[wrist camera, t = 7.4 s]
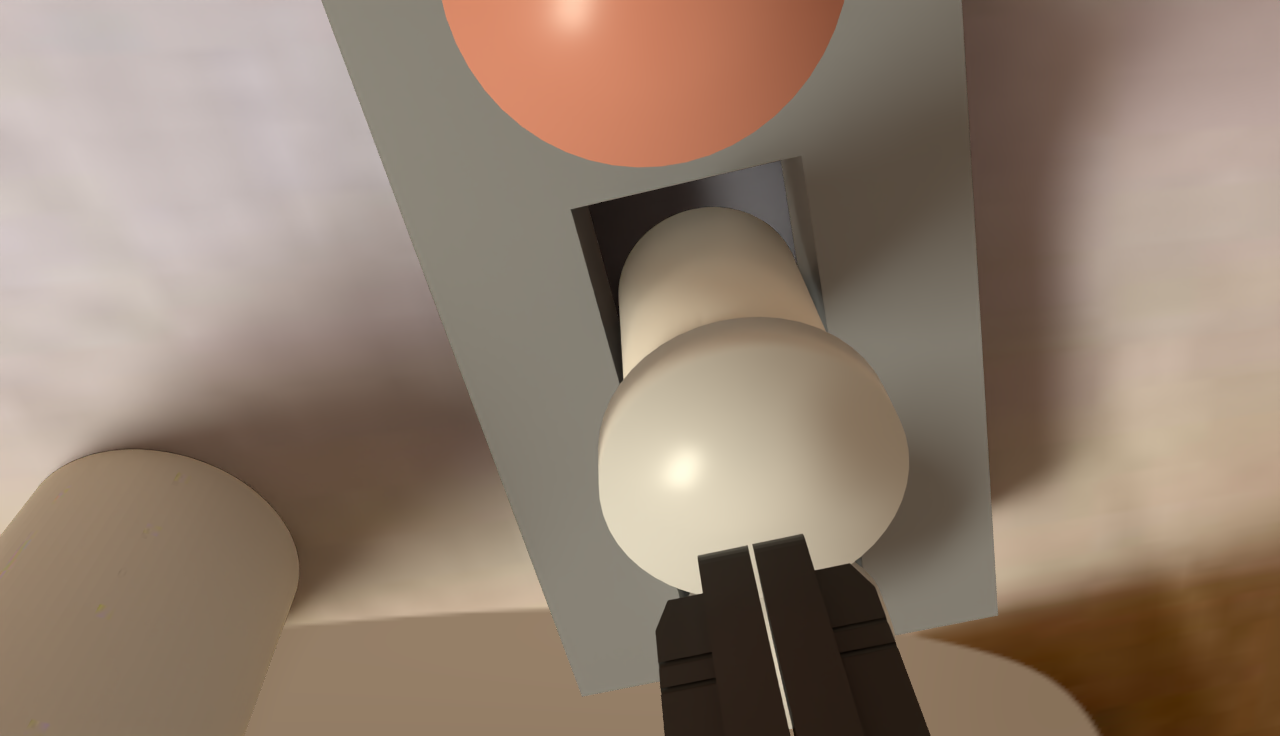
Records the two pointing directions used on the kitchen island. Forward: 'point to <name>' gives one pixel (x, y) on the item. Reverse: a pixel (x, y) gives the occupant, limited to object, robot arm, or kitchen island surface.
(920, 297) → the panel
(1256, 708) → the kitchen island surface
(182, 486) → the white cylinder
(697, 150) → the red plunger
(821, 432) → the mid plunger
